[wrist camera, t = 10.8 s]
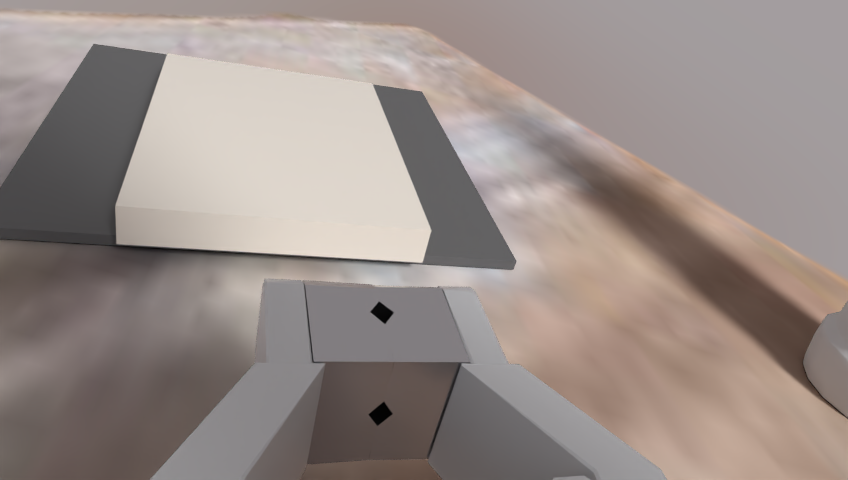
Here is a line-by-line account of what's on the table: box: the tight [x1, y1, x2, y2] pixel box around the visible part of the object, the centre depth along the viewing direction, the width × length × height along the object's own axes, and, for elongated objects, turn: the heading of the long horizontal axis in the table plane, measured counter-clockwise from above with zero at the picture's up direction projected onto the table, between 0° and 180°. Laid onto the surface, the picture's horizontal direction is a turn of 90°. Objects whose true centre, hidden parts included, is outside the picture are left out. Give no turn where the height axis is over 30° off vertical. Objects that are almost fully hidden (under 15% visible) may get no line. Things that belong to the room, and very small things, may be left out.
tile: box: [115, 53, 431, 263], centre depth 27 cm, size 10×2×14 cm
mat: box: [0, 44, 516, 269], centre depth 29 cm, size 18×18×1 cm
